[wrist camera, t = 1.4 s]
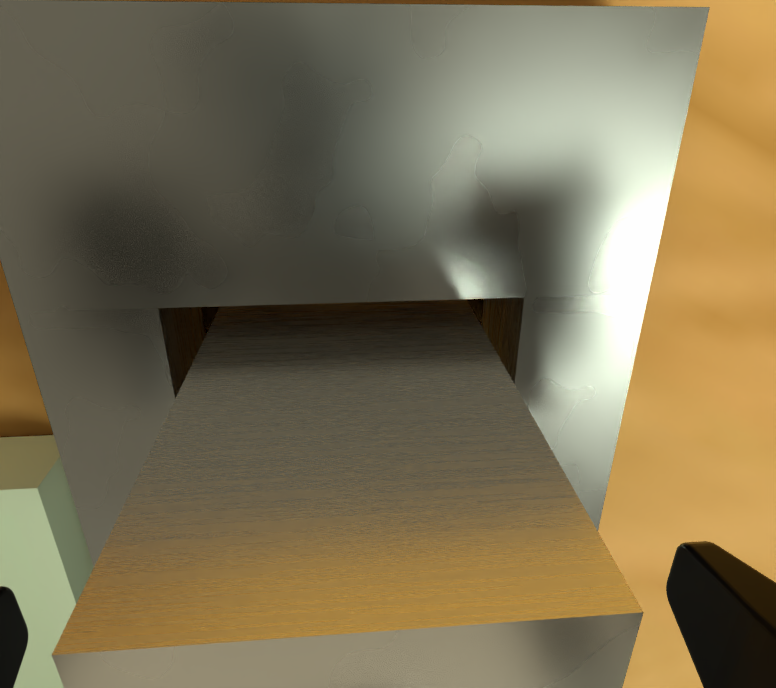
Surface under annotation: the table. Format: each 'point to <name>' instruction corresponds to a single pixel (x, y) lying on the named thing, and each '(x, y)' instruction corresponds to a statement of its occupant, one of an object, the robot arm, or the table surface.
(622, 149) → the grey socket board
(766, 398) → the table surface
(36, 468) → the tray
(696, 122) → the table surface
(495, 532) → the nut
